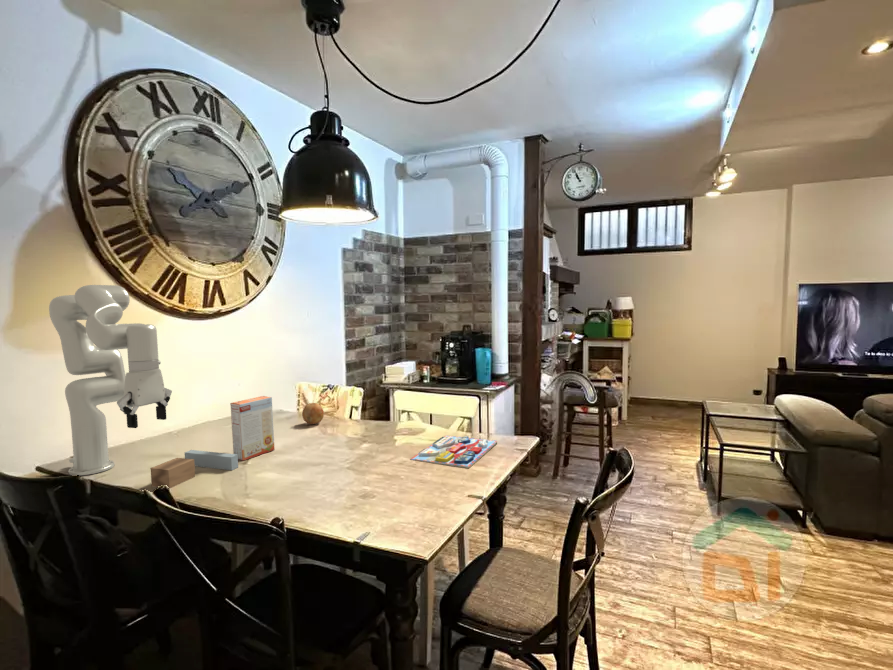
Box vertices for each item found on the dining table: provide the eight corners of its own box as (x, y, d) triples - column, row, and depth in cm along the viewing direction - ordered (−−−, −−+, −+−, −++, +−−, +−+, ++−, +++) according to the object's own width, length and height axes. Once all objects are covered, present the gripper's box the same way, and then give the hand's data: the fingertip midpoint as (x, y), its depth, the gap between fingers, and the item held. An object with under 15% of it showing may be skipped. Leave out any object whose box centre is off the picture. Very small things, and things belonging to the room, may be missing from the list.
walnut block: (151, 486, 146) (150, 468, 145) (178, 475, 155) (177, 457, 155) (169, 489, 144) (168, 470, 143) (195, 477, 153) (194, 459, 153)
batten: (185, 464, 165) (184, 452, 164) (192, 462, 167) (191, 449, 167) (231, 470, 159) (231, 457, 158) (238, 467, 162) (237, 454, 161)
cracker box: (265, 448, 183) (262, 395, 181) (275, 450, 180) (273, 396, 178) (232, 458, 171) (229, 402, 169) (242, 461, 168) (240, 403, 166)
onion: (326, 421, 223) (325, 400, 222) (321, 426, 213) (321, 404, 213) (305, 421, 223) (304, 400, 222) (300, 427, 213) (299, 405, 212)
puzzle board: (445, 438, 195) (445, 432, 194) (497, 444, 185) (497, 438, 185) (409, 461, 167) (409, 454, 167) (469, 470, 157) (469, 462, 157)
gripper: (159, 362, 147) (162, 415, 149) (105, 370, 131) (109, 430, 132) (178, 362, 145) (181, 417, 146) (126, 370, 129) (130, 432, 130)
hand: (147, 423), depth 139 cm, fingers open, 9 cm apart
